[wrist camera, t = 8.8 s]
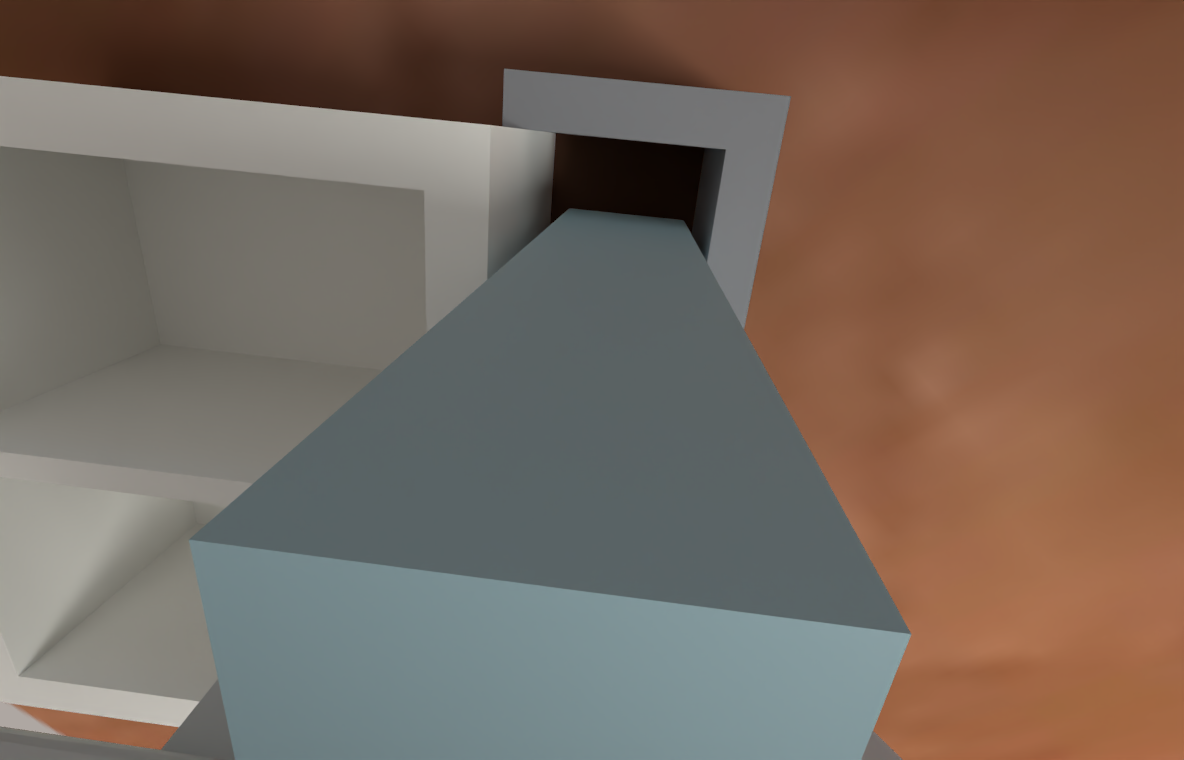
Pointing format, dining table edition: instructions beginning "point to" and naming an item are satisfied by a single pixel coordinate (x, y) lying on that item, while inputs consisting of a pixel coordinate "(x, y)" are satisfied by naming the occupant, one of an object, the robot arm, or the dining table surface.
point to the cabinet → (252, 321)
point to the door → (554, 540)
